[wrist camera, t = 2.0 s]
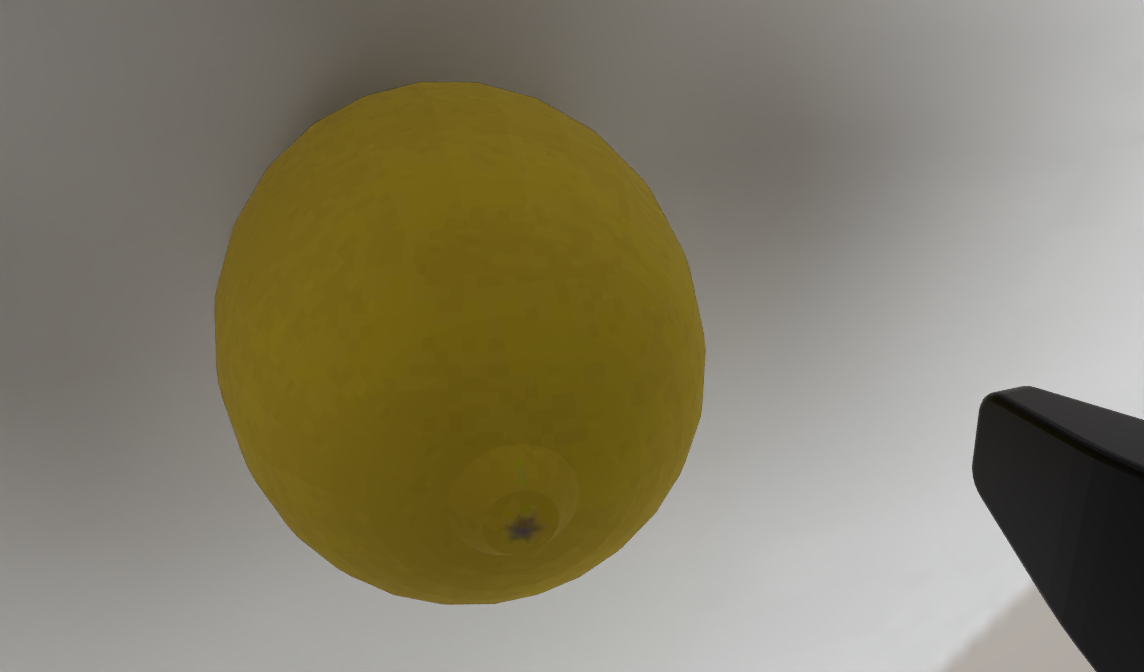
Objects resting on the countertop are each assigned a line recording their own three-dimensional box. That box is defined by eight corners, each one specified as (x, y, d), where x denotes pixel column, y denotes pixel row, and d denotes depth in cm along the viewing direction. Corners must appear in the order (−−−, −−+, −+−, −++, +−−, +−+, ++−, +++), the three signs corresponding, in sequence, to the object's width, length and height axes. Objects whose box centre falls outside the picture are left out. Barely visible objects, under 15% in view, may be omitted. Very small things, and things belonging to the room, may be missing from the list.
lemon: (239, 372, 16) (195, 792, 9) (230, 9, 14) (162, 212, 7) (576, 369, 18) (756, 732, 11) (621, 40, 15) (889, 233, 8)
